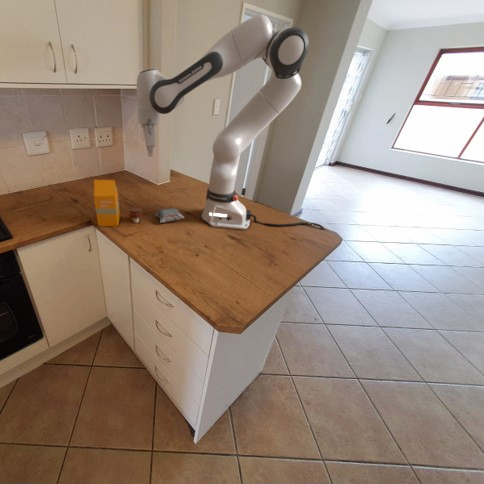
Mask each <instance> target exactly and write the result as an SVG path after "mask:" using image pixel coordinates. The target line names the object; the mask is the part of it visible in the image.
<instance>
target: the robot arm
mask: <svg viewBox="0 0 484 484" xmlns="http://www.w3.org/2000/svg"><path fill="white" fill-rule="evenodd" d="M309 47H310V40H309V36H308V34H307V33H306V31H305V30H304V29H302V28H301V27H297V26H292V27H291V26H290V27H286V28H283V29H279V30H275V28H274V27H273V24H272V21H271V20H270V19H269V17H268V16H267V15H266V14H262V13H259V14H256V15H255V16H251V17H249V19H246V20H245V21H243V22H241V23H239V24H238V25H236V26H234V28H232V29H231V30H229V31H228V32H227V33H225V34H224V35H223V36H222V37H221V38H220V39H218V40H217V42H215V43H214V45H212V46H211V47H210V48H209V49H208V51H206V53H204V55H203V56H202V57H200V58H199V59H198V60H197V61H195V62H194V63H193V64H191V65H190V66H189V67H187V68H186V69H184V70H183V71H182V72H180V73H178V74H177V75H176V76H173V77H172V78H170V77H167V76H165V75H164V74H162V73H161V72H160V71H159V70H158V69H156V68H150V69H149V68H148V69H145V70H141V71H140V72H139V73H138V74H137V79H136V99H137V105H138V106H137V123H138V124H140V125H141V126H140V127H141V128H142V132H143V138H144V142H145V146H146V151H147V157H148V158H150V157H151V158H152V157H153V153H154V151H153V150H154V148H156V128H157V127H158V126H157V125H158V124H160V123H161V116H160V115H166V114H167V115H168V114H169V113H171V112H172V111H174V110H175V109H178V108H179V107H180V106H181V105H182V104H183V102H184V100H185V96H186V95H188V94H189V93H190V92H192V91H194V90H196V88H198V87H200V86H201V85H203V84H205V83H207V82H209V81H211V80H215V79H220V78H224V77H227V76H229V75H231V74H233V73H235V72H237V71H239V70H241V69H242V68H243V67H245V66H247V65H248V64H250V63H251V62H253V61H254V60H256V59H261V60H263V61H264V63H265V64H266V66H267V67H269V68H270V70H271V73H270V75H269V78H268V79H267V81H266V83H265V84H264V85H263V86H262V87H260V89H259V90H258V91H257V92H256V93H255V95H253V96H252V98H251V99H250V100H248V102H247V103H246V104H244V106H243V107H242V108H241V110H240V111H239V112H238V113H237V114H236V115H235V117H233V119H232V120H231V121H230V122H229V123H228V125H226V127H225V128H223V129H221V130H220V131H219V132H218V134H217V136H216V138H215V139H214V141H213V143H212V153H213V158H212V164H211V169H210V175H209V183H208V187H207V189H206V194H205V195H206V196H205V198H206V199H205V200H206V201H205V205H204V209H203V211H202V213H201V219H202V220H203V221H205V223H208V224H209V226H210V227H212V228H224V229H233V230H247V229H248V228H249V227H250V224H251V217H252V218H253V222H255V223H257V224H260V225H264V226H270V227H288V226H289V227H291V226H296V225H307V226H316V225H317V226H316V227H319V226H320V227H319V228H321V227H322V228H321V230H322V231H326V229H325V227H324V226H323V225H322V224H319V223H316V222H310V223H311V224H308V223H309V222H305V221H301V222H300V221H299V222H292V223H271V222H269V223H268V222H260V221H258V220H257V216H256V215H255V214H252V212H251V209H247V208H246V206H245V205H244V204H243V203H242V202H241V201H239V197H238V195H239V193H238V191H236V190H235V186H236V180H237V175H238V169H239V164H240V159H241V154H242V153H243V152H244V151H245V150H246V149H247V148H248V147H249V146H250V145H251V144H252V143H253V141H254V140H255V139H256V138H257V137H258V136H259V135H260V134H261V133H262V131H264V129H265V128H266V127H268V125H270V124H271V123H272V121H274V120H275V119H276V118H277V117H278V116H279V115H280V114H281V113H282V112H283V111H284V110H285V109H287V107H288V105H289V104H290V103H291V102H292V101H293V100H294V98H296V96H297V95H298V93H299V92H300V90H301V88H302V79H301V76H300V74H299V73H300V71H301V68H302V66H303V63H304V62H305V58H306V56H307V54H308V52H309ZM304 222H305V223H304ZM312 224H314V225H312ZM323 228H324V229H323Z"/></svg>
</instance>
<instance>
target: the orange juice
mask: <svg viewBox="0 0 484 484" xmlns="http://www.w3.org/2000/svg"><path fill="white" fill-rule="evenodd" d="M118 190H119V189H118V185H117V182H116V179H102V178H101V179H100V178H99V179H97V178H95V179H93V200H94V206H95V207H94V208H95V214H96V221H97V226H98V227H118V226H119V223H120V221H121V213H120V201H119V191H118Z"/></svg>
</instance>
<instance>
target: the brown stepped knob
mask: <svg viewBox="0 0 484 484" xmlns="http://www.w3.org/2000/svg"><path fill="white" fill-rule="evenodd" d="M128 216H129V218H130V219H132V220H131V221H132V223H134V224H135V223H136V224H137V223H139V222H140V218H141V217H143V210H142V209H141V208H140V207H137V206H134V207H131V208H130V209H129V210H128Z"/></svg>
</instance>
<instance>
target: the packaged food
mask: <svg viewBox="0 0 484 484" xmlns="http://www.w3.org/2000/svg"><path fill="white" fill-rule="evenodd" d="M154 216H155V217H158V218H159V223H164V224H165V223H170V222H176V221H177V222H178V221H181V220H185V219H186V216H184V215H183V214H181V212H180V211H179V210H178V209H177V208H175V207H170V208H162V209H158V210H156V212H155V214H154Z"/></svg>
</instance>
